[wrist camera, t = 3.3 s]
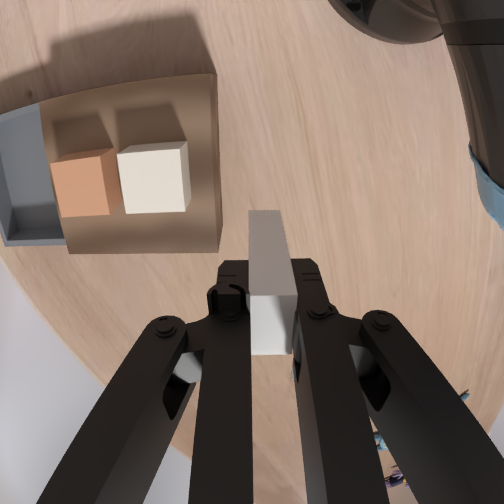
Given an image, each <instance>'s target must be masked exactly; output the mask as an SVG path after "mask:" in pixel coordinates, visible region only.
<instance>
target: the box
mask: <svg viewBox="0 0 504 504" xmlns="http://www.w3.org/2000/svg"><path fill="white" fill-rule="evenodd" d="M0 233H1V236H2V239H3V242H4V245H5V247H7V246H45V245H67V244H66V241H65V237H64V234H63V230H62V226H61V223H60V219H59V215H58V211H57V207H56V202H55V198H54V194H53V189H52V184H51V179H50V174H49V169H48V164H47V158H46V152H45V146H44V140H43V133H42V126H41V118H40V109H39V103H35V104H32V105H28V106H25V107H22V108H19V109H16V110H13V111H10V112H7V113H4V114H1V115H0Z"/></svg>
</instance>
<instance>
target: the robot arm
mask: <svg viewBox="0 0 504 504" xmlns="http://www.w3.org/2000/svg"><path fill="white" fill-rule="evenodd" d="M328 1H329V3H330V4H331V5H332V7H333V8H334V9H335V10H336V11H337V13H338V14H339V15H340V16H341V17H343V18H344V19H345V20H346V21H347V22H348V23H350V24H351V25H352V26H354V27H355V28H356V29H358V30H360V31H361V32H363V33H365V34H367V35H369V36H371V37H373V38H376V39H378V40H381V41H385V42H389V43H394V44H415V43H423V42H427V41H431V40H433V39H436V38H438V37H440V36H441V35H444V37H445V40H446V45H447V48H448V51H449V54H450V57H451V60H452V63H453V66H454V70H455V73H456V77H457V80H458V84H459V88H460V92H461V97H462V101H463V105H464V110H465V115H466V120H467V125H468V131H469V137H470V142H469V145H468V146H469V154H470V157H471V159H472V161H473V163H474V167H475V173H476V180H477V187H478V192H479V196H480V199H481V202H482V204H483V206H484V208H485V209H486V211H487V213H488V214H489V215H490V216H491V218H492V219H493V220H495V221H496V222H498V224H499V226H500V228H501V229H502V230H503V231H504V0H328ZM217 276H218V277H217V283H216V285H214V286H213V287H211V288H210V289H209V291H208V293H207V301H208V310H209V315H208V316H206V317H205V318H203V319H201V320H199V321H196V322H192V323H187V324H185V322H184V321H183V320H181V319H180V318H178V317H175V316H161V317H158V318H156V319H154V320H152V321H151V322H150V323H149V324H148V325H147V326H146V328H145V329H144V331H143V332H142V334H141V335H140V337H139V338H138V340H137V341H136V342H135V344H134V345H133V347H132V348H131V350H130V351H129V353H128V355H127V356H126V358H125V359H124V361H123V362H122V364H121V365H120V367H119V368H118V370H117V371H116V373H115V374H114V376H113V377H112V379H111V380H110V382H109V384H108V385H107V387H106V388H105V390H104V391H103V393H102V394H101V396H100V398H99V399H98V401H97V402H96V404H95V406H94V407H93V409H92V410H91V412H90V413H89V415H88V417H87V418H86V420H85V422H84V423H83V425H82V426H81V428H80V430H79V431H78V433H77V435H76V436H75V438H74V440H73V441H72V443H71V444H70V446H69V448H68V449H67V451H66V453H65V454H64V456H63V458H62V460H61V461H60V463H59V465H58V466H57V468H56V470H55V471H54V473H53V475H52V477H51V478H50V480H49V482H48V483H47V485H46V487H45V489H44V491H43V492H42V494H41V496H40V498H39V500H38V501H37V503H36V504H143V502H144V499H145V497H146V495H147V493H148V491H149V488H150V486H151V484H152V482H153V479H154V477H155V475H156V473H157V470H158V468H159V466H160V464H161V461H162V459H163V457H164V455H165V453H166V450H167V448H168V446H169V444H170V441H171V439H172V437H173V435H174V432H175V430H176V428H177V426H178V423H179V421H180V419H181V417H182V414H183V412H184V410H185V408H186V406H187V403H188V401H189V399H190V397H191V394H192V392H193V390H194V388H195V385H196V382H197V381H201V382H200V390H199V399H198V408H197V417H196V426H195V435H194V445H193V455H192V466H191V476H190V488H189V500H188V504H253V446H252V381H251V355H277V354H292V347H293V354H294V358H293V366H292V373H291V378H294V382H295V390H296V398H297V407H298V416H299V425H300V434H301V443H302V452H303V462H304V472H305V482H306V492H307V502H308V504H390V503H389V498H388V494H387V489H386V484H385V480H384V475H383V471H382V466H381V462H380V458H379V454H378V450H377V445H376V441H375V437H374V433H373V430H372V426H371V422H370V418H371V419H372V421H373V423H374V425H375V426H376V428H377V430H378V432H379V433H380V435H381V437H382V439H383V440H384V442H385V444H386V446H387V448H388V449H389V451H390V453H391V455H392V456H393V458H394V460H395V462H396V464H397V465H398V467H399V469H400V471H401V473H402V474H403V476H404V478H405V480H406V482H407V483H408V485H409V487H410V489H411V491H412V492H413V494H414V496H415V498H416V500H417V501H418V503H419V504H504V458H503V457H502V455H501V454H500V452H499V451H498V450H497V448H496V447H495V445H494V444H493V442H492V441H491V439H490V438H489V436H488V435H487V434H486V432H485V431H484V429H483V428H482V426H481V425H480V424H479V422H478V421H477V420H476V418H475V417H474V415H473V414H472V413H471V411H470V410H469V409H468V407H467V406H466V404H465V403H464V402H463V400H462V399H461V398H460V396H459V395H458V394H457V392H456V391H455V390H454V389H453V387H452V386H451V385H450V383H449V382H448V381H447V379H446V378H445V377H444V376H443V374H442V373H441V372H440V370H439V369H438V368H437V367H436V365H435V364H434V363H433V362H432V360H431V359H430V358H429V356H428V355H427V354H426V353H425V352H424V350H423V349H422V348H421V347H420V345H419V344H418V343H417V342H416V340H415V339H414V338H413V337H412V336H411V334H410V333H409V332H408V331H407V329H406V328H405V327H404V326H403V325H402V323H401V322H400V321H399V320H398V319H397V318H396V317H395V316H394V315H393V314H391V313H389V312H386V311H382V310H372V311H370V312H367V313H366V314H365V315H364V316H363V318H362V320H361V319H356V318H350V317H346V316H343V315H341V314H339V312H338V310H337V309H336V307H335V306H334V305H332V304H331V303H330V302H329V299H328V296H327V293H326V290H325V287H324V283H323V281H322V277H321V274H320V271H319V268H318V265H317V264H316V263H315V262H314V261H313V260H312V259H311V258H306V259H290V255H289V250H288V245H287V241H286V236H285V231H284V227H283V222H282V218H281V213H280V210H249V260H225V261H224V262H223V263H222V264H221V265H220V266H219V268H218V275H217ZM369 416H370V418H369Z"/></svg>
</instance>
